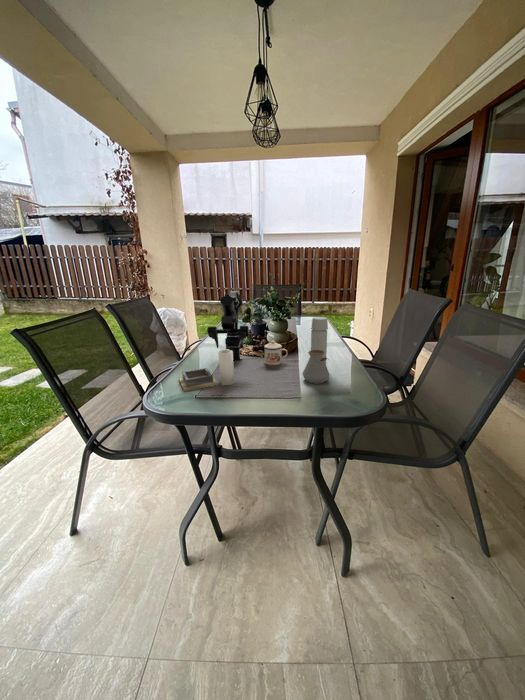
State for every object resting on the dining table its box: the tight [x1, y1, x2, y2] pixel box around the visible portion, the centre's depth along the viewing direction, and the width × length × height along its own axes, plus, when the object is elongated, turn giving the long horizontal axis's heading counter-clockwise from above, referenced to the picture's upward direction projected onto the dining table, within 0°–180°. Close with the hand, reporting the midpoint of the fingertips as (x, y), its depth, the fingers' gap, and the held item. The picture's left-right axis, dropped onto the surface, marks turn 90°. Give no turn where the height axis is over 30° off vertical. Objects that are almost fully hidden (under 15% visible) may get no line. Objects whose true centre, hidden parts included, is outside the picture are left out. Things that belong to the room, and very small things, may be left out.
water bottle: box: [310, 316, 329, 365], centre depth 133 cm, size 9×8×25 cm
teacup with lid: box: [263, 340, 289, 366], centre depth 147 cm, size 12×9×12 cm
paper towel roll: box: [218, 349, 235, 386], centre depth 122 cm, size 6×6×14 cm
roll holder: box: [178, 367, 219, 392], centre depth 125 cm, size 14×14×4 cm
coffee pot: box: [302, 349, 330, 385], centre depth 118 cm, size 21×12×15 cm, turn 3°
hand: (227, 347), depth 128 cm, fingers open, 9 cm apart
